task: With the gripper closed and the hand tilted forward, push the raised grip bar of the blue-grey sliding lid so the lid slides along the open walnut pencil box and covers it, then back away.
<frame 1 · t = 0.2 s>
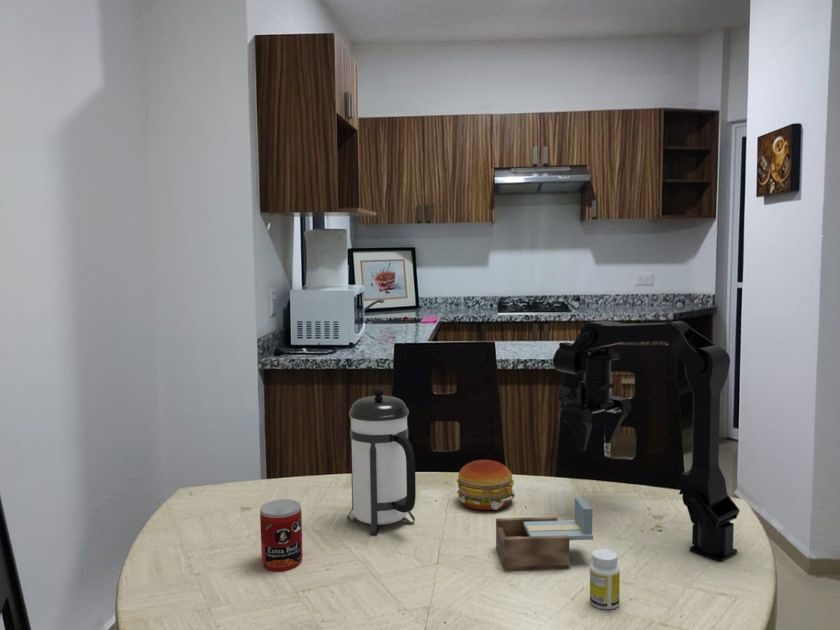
hand: (595, 446, 153), 15 cm above the table, tool pointing down, fingers open, 9 cm apart
lid: (557, 518, 130), point 8 cm above the table, slide at 5.0 cm
burger: (485, 504, 160), on the table
pencil box: (531, 558, 131), on the table
coffee press: (385, 524, 149), on the table
canned food: (282, 563, 131), on the table
supplement bottle: (604, 604, 114), on the table
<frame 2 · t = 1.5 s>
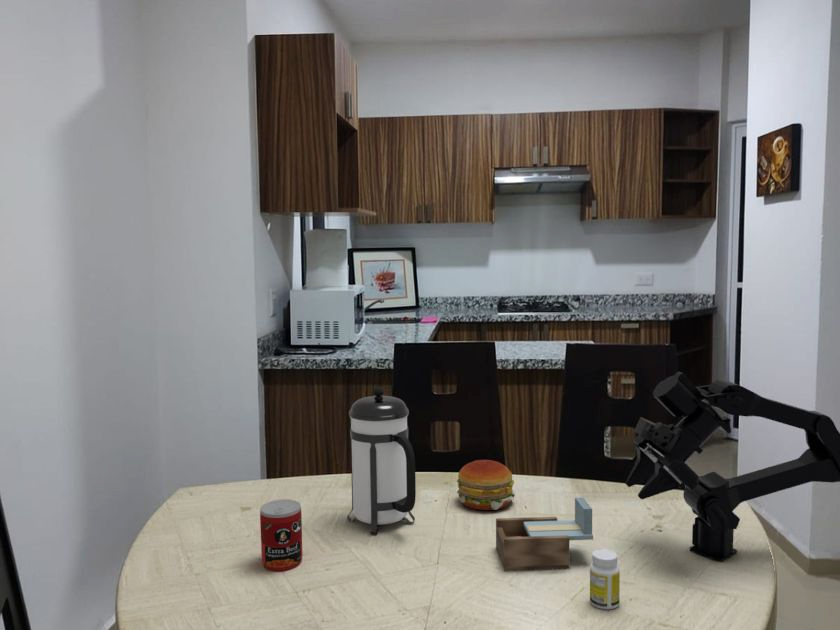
hand: (633, 491, 131), 13 cm above the table, tool tilted 45°, fingers open, 6 cm apart
nothing on the table moved.
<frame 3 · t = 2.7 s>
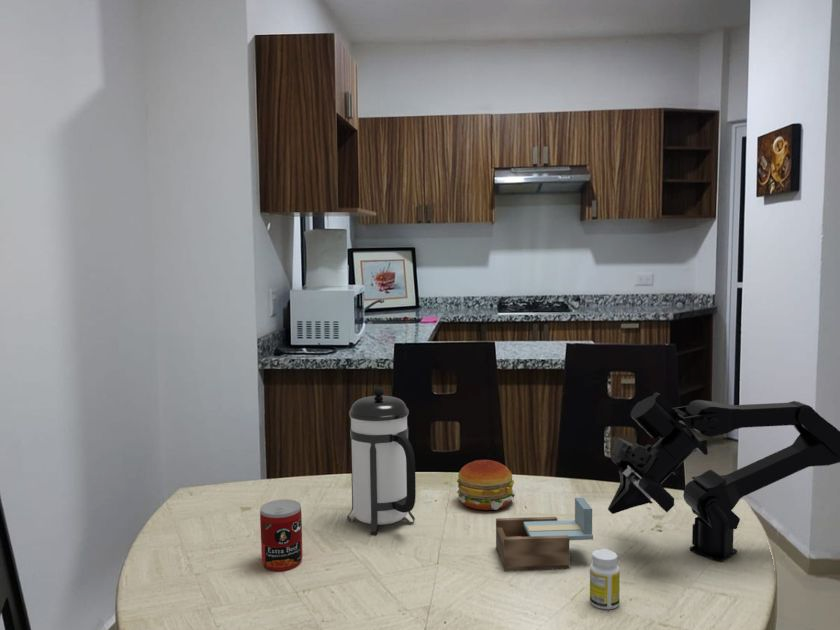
hand: (609, 511, 131), 9 cm above the table, tool tilted 45°, fingers closed
nothing on the table moved.
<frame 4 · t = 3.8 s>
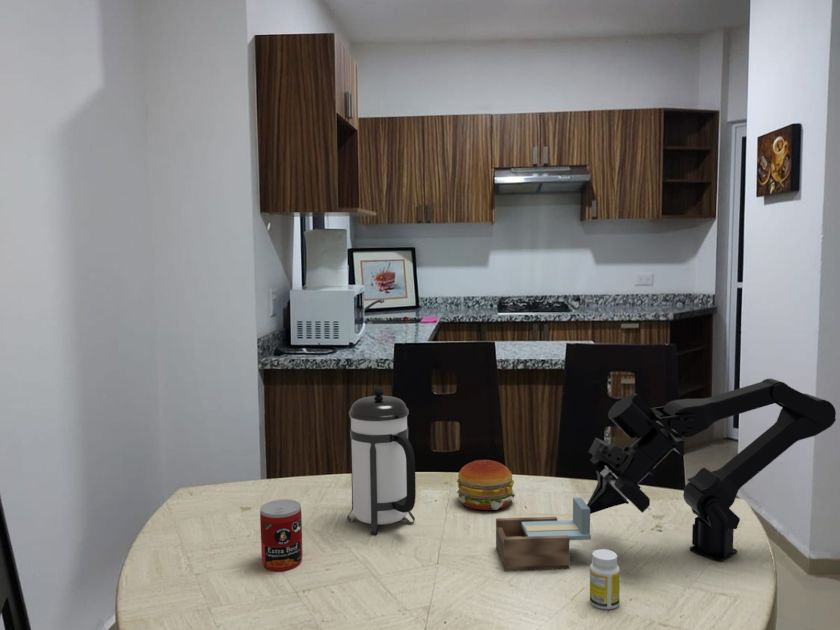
hand: (586, 511, 131), 9 cm above the table, tool tilted 45°, fingers closed, pressing on lid
lid: (555, 518, 130), point 8 cm above the table, slide at 4.6 cm, touching gripper
everything else where it was.
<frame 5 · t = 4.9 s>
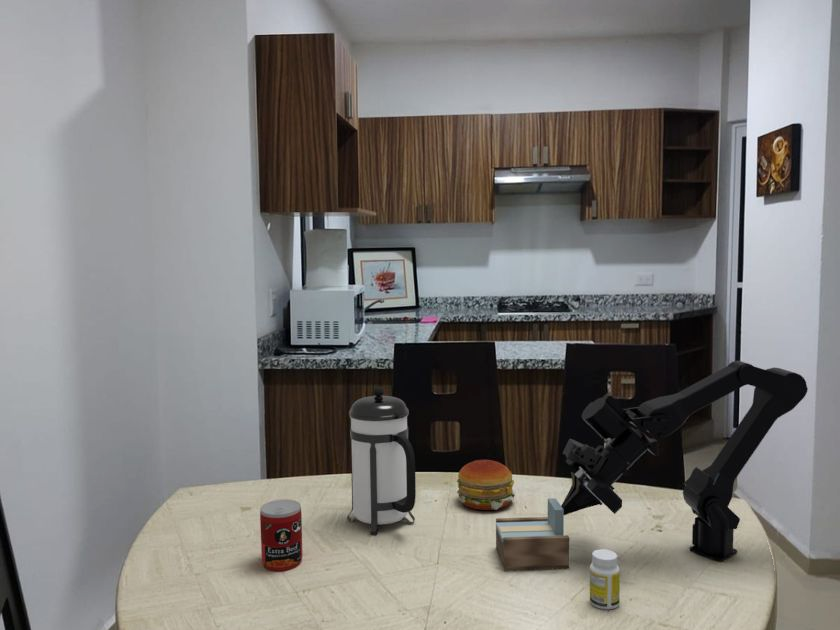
hand: (561, 513, 130), 9 cm above the table, tool tilted 45°, fingers closed, pressing on lid
lid: (529, 519, 130), point 8 cm above the table, slide at -0.4 cm, touching gripper
everything else where it was.
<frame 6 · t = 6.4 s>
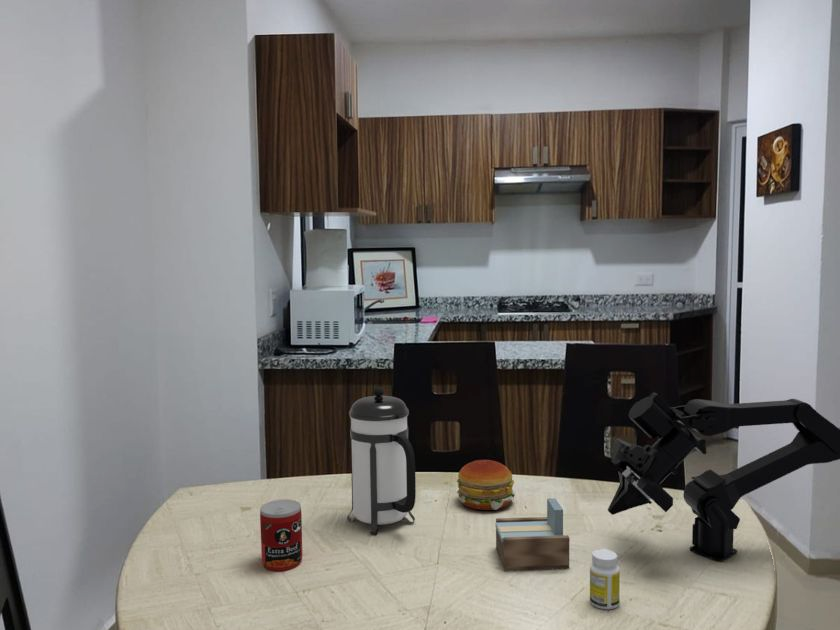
hand: (609, 512, 131), 9 cm above the table, tool tilted 45°, fingers closed
lid: (528, 519, 130), point 8 cm above the table, slide at -0.5 cm
everything else where it was.
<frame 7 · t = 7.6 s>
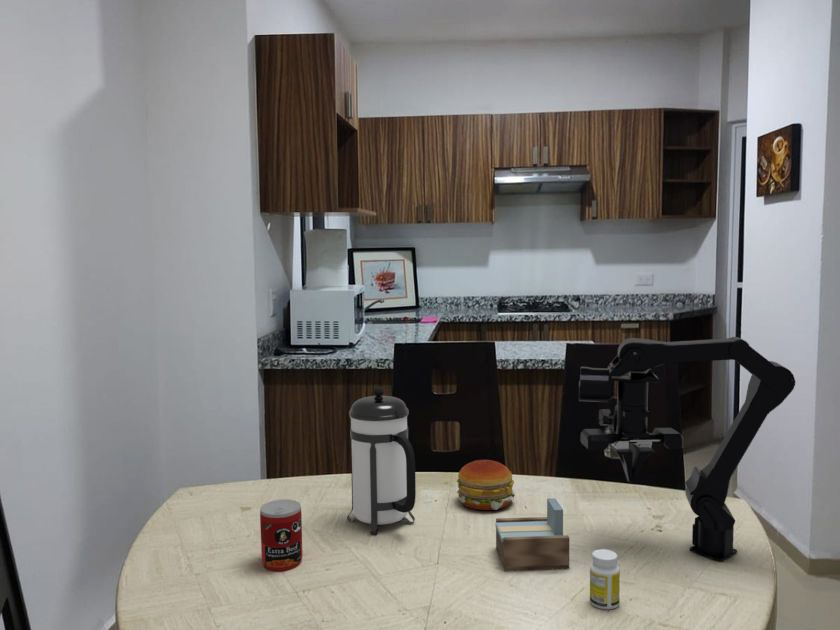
hand: (630, 481, 135), 13 cm above the table, tool pointing down, fingers closed
nothing on the table moved.
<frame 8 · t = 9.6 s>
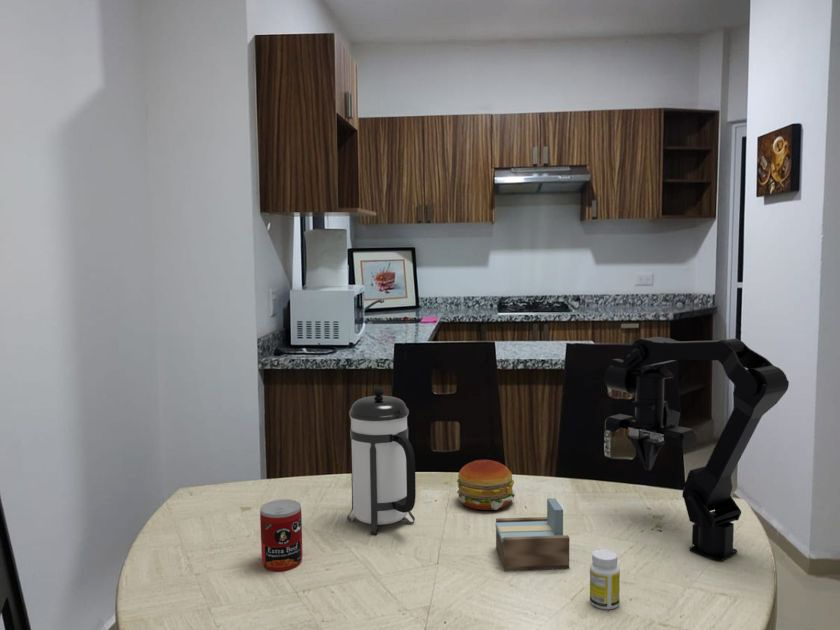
hand: (648, 469, 145), 12 cm above the table, tool pointing down, fingers closed
nothing on the table moved.
at the end: lid slide at -0.5 cm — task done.
